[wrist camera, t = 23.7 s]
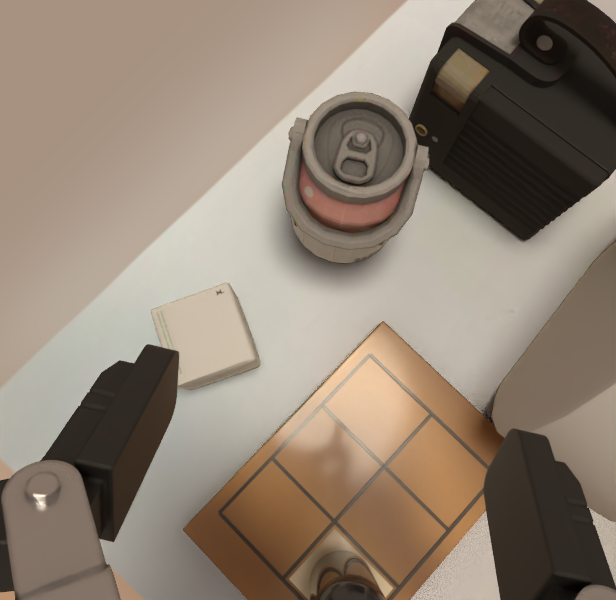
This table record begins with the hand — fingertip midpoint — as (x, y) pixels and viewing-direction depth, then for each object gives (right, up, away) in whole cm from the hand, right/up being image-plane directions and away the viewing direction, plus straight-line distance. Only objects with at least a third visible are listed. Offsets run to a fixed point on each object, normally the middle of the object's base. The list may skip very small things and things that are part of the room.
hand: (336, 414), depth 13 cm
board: (+3, -11, +26) cm, 28 cm away
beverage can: (+2, +9, +30) cm, 32 cm away
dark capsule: (+2, -16, +24) cm, 29 cm away
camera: (+15, +15, +32) cm, 38 cm away
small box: (-8, -1, +28) cm, 29 cm away
